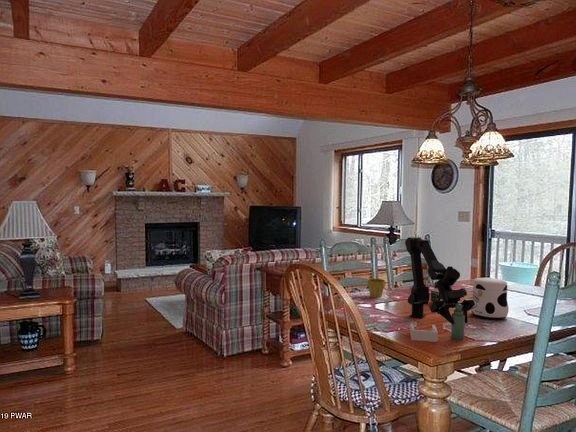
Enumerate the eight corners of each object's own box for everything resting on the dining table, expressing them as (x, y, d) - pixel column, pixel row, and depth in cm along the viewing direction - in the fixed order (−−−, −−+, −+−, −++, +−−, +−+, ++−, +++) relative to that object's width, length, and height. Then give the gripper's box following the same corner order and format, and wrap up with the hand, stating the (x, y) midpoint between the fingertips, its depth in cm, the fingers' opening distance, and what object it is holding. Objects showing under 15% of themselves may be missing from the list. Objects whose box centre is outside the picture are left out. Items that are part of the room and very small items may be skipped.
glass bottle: (452, 335, 193) (453, 302, 192) (465, 337, 190) (466, 303, 189) (449, 338, 189) (450, 304, 188) (462, 340, 186) (464, 306, 185)
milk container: (462, 313, 228) (463, 278, 227) (487, 310, 235) (488, 276, 234) (490, 323, 212) (491, 285, 211) (516, 319, 219) (517, 283, 218)
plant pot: (388, 297, 260) (389, 281, 260) (374, 299, 256) (374, 282, 255) (377, 293, 269) (378, 277, 269) (363, 295, 265) (363, 279, 264)
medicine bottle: (430, 302, 251) (431, 281, 250) (439, 300, 254) (440, 280, 254) (439, 305, 245) (440, 283, 244) (449, 303, 248) (450, 282, 247)
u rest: (409, 332, 196) (410, 323, 196) (434, 334, 194) (434, 325, 194) (411, 339, 186) (411, 330, 186) (437, 342, 184) (437, 332, 184)
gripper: (434, 282, 190) (448, 314, 180) (473, 280, 194) (488, 312, 184) (424, 296, 198) (436, 328, 188) (461, 294, 202) (476, 326, 192)
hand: (459, 323), depth 188 cm, fingers open, 6 cm apart
